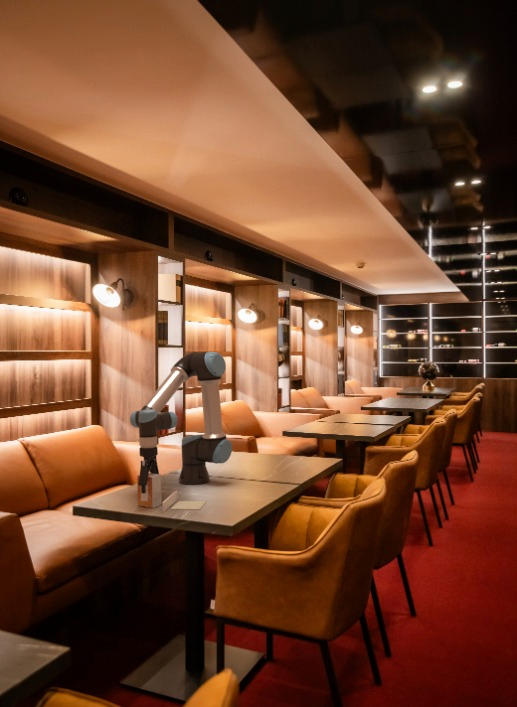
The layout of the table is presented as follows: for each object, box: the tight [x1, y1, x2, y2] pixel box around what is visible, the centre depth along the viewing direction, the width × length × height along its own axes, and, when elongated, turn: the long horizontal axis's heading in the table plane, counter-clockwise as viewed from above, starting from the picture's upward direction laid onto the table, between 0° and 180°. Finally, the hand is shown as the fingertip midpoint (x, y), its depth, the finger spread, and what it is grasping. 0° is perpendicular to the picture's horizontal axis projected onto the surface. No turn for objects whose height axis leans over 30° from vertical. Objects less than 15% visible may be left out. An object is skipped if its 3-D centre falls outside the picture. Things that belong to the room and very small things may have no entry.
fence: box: [161, 490, 179, 513], centre depth 249 cm, size 20×1×4 cm, turn 172°
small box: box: [137, 472, 163, 509], centre depth 250 cm, size 8×6×13 cm
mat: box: [170, 500, 207, 511], centre depth 248 cm, size 12×12×1 cm
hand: (149, 496), depth 250 cm, fingers open, 13 cm apart
